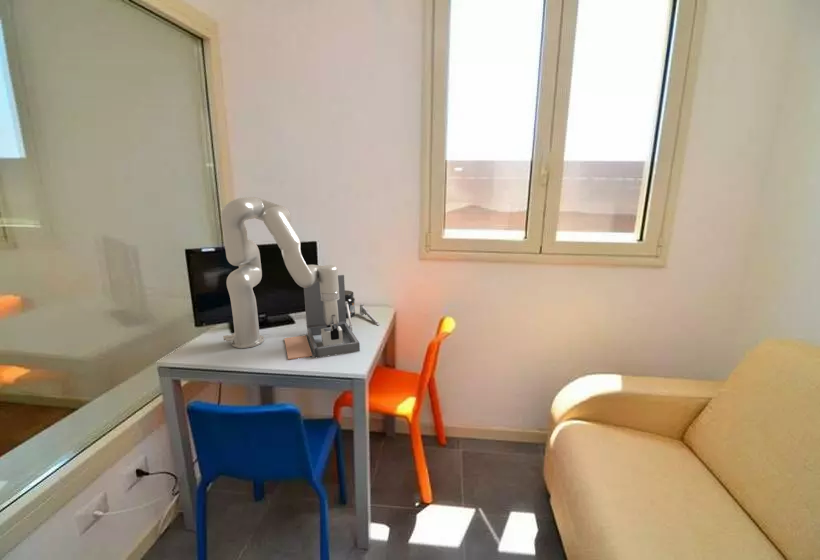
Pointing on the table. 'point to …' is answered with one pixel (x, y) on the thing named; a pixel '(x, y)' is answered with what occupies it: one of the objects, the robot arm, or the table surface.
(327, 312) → the robot arm
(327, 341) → the module
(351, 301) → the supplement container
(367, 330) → the table surface
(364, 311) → the caliper
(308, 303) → the equipment case
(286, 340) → the rubber mat
